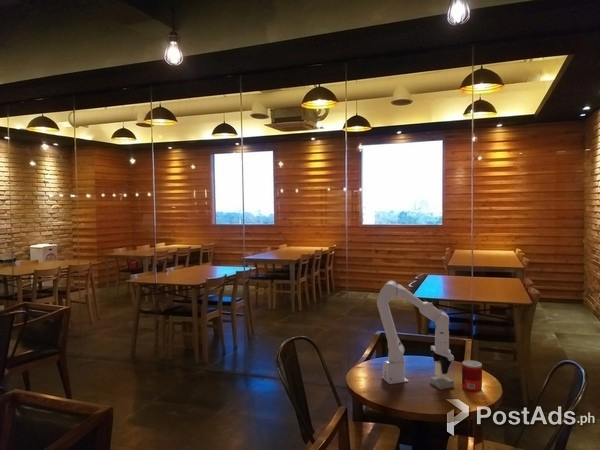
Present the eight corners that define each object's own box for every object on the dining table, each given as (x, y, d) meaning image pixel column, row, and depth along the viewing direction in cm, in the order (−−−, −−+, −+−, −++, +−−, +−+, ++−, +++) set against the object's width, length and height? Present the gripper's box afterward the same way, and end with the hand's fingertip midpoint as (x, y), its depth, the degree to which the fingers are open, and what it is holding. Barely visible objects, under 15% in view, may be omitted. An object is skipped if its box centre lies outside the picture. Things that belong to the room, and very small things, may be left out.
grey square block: (440, 390, 187) (440, 383, 187) (430, 383, 194) (430, 377, 194) (453, 387, 189) (453, 380, 189) (443, 381, 196) (443, 374, 196)
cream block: (440, 378, 189) (440, 364, 189) (434, 374, 193) (435, 361, 193) (448, 377, 190) (448, 363, 190) (442, 373, 194) (443, 360, 194)
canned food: (485, 391, 185) (486, 365, 184) (469, 393, 183) (469, 367, 182) (473, 383, 192) (474, 359, 192) (458, 386, 190) (458, 361, 189)
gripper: (460, 345, 185) (460, 376, 185) (440, 335, 199) (440, 364, 199) (445, 346, 183) (445, 378, 184) (426, 336, 197) (426, 366, 198)
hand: (441, 371), depth 191 cm, fingers closed on cream block, 4 cm apart
